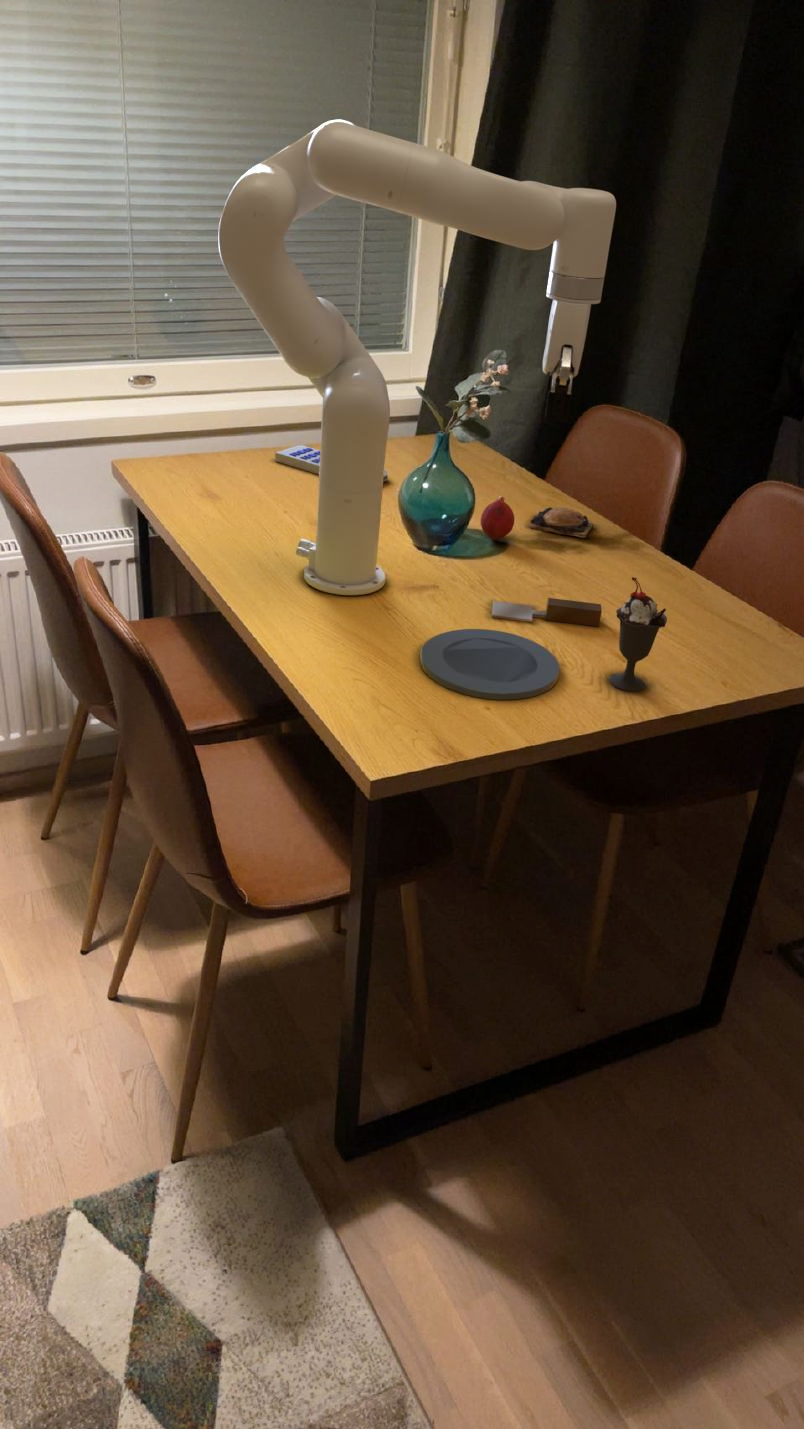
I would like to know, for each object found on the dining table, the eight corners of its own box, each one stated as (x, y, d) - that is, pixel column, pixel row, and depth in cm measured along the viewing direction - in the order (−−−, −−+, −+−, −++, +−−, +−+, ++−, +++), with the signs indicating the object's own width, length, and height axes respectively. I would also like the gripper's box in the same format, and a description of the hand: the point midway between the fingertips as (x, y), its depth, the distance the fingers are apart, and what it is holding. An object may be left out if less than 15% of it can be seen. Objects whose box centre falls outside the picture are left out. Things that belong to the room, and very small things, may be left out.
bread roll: (594, 526, 206) (598, 507, 204) (584, 540, 199) (588, 520, 197) (538, 514, 209) (541, 495, 207) (526, 528, 202) (529, 508, 200)
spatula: (491, 617, 167) (494, 601, 166) (492, 603, 172) (495, 587, 170) (599, 630, 166) (602, 614, 165) (597, 616, 171) (600, 600, 170)
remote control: (300, 454, 229) (300, 443, 228) (391, 480, 218) (392, 469, 217) (274, 461, 223) (275, 450, 222) (367, 489, 212) (368, 478, 211)
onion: (509, 549, 192) (515, 504, 188) (475, 544, 193) (481, 499, 189) (513, 537, 197) (519, 493, 193) (480, 532, 198) (486, 488, 194)
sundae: (596, 670, 155) (616, 569, 148) (644, 672, 156) (666, 572, 148) (608, 693, 149) (629, 590, 142) (657, 695, 150) (681, 592, 143)
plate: (393, 669, 150) (394, 662, 150) (461, 623, 165) (461, 616, 164) (521, 715, 142) (522, 708, 142) (580, 662, 157) (581, 655, 156)
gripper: (547, 275, 162) (530, 395, 171) (548, 295, 147) (529, 425, 156) (599, 281, 162) (579, 400, 170) (605, 301, 147) (583, 431, 155)
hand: (555, 412), depth 163 cm, fingers open, 9 cm apart
